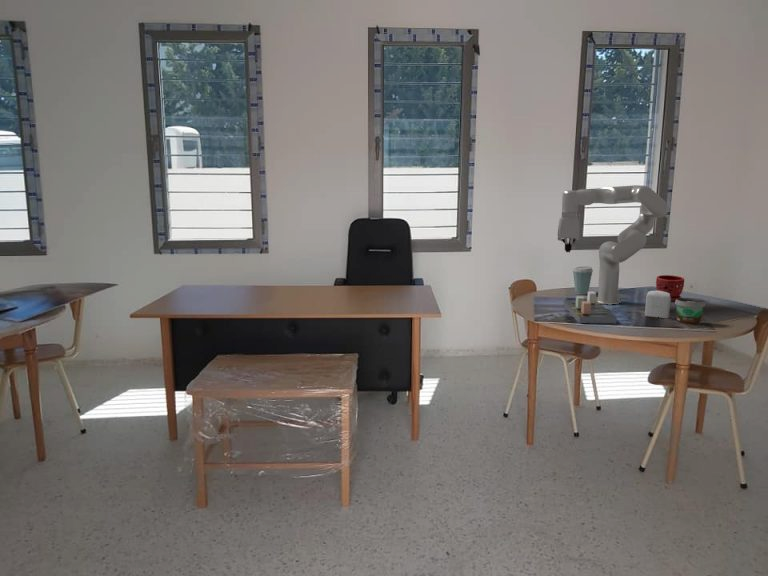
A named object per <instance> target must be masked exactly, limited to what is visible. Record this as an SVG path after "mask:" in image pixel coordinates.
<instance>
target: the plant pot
mask: <svg viewBox="0 0 768 576" xmlns="http://www.w3.org/2000/svg"><path fill="white" fill-rule="evenodd" d="M655 279H656V281H655V286H656V291H664V292H667V293H669V294H670V297H671V301H670V302H675V301H676V299H677V300H679V301H681V300H680V299H682V297H681V294H682V293H683V290H684V286H685V278H684V277H682V276H677V275H671V274H670V275H669V274H664V275H662V274H661V275H658V276H656V278H655Z"/></svg>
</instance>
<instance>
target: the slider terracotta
mask: <svg viewBox="0 0 768 576" xmlns="http://www.w3.org/2000/svg"><path fill="white" fill-rule="evenodd" d="M590 310H591V303H590V302H589V301H587V300H585V301H582V304H581V312H582V313H583V314H590Z"/></svg>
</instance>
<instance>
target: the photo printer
mask: <svg viewBox="0 0 768 576" xmlns="http://www.w3.org/2000/svg"><path fill="white" fill-rule="evenodd" d="M645 298H646V299H645V307H644V316H645V317H649V318H650V317H652V318H658V317H659V319H669V318H670V310H671V302H672V301H671V297H670V294H669V293H667V292H664V291H657V290H649V291H648V292H647V294H646V297H645Z"/></svg>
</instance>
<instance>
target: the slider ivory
mask: <svg viewBox="0 0 768 576" xmlns="http://www.w3.org/2000/svg"><path fill="white" fill-rule="evenodd" d="M586 295H587V296H586V297H587V298H586V301H589V302H590V303H596V298H597V293H596V292H595V291H588V294H586Z"/></svg>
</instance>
